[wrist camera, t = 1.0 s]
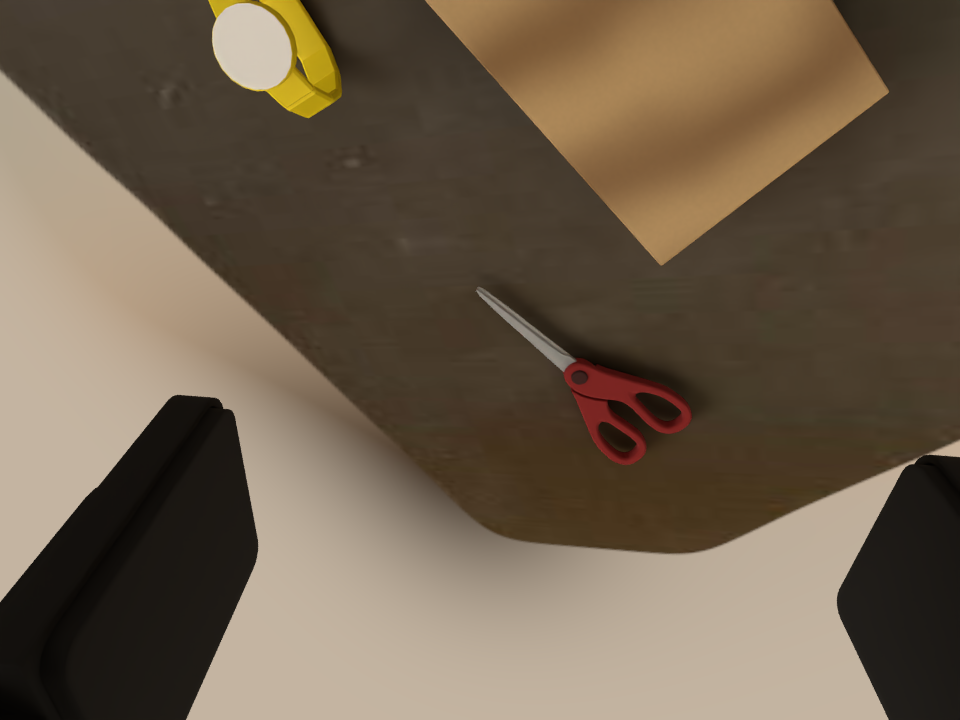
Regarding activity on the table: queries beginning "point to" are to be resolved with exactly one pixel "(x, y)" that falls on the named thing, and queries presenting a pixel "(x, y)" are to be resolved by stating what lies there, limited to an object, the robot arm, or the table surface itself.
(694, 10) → the desk stand
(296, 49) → the watch
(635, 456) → the scissors
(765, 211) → the table surface
